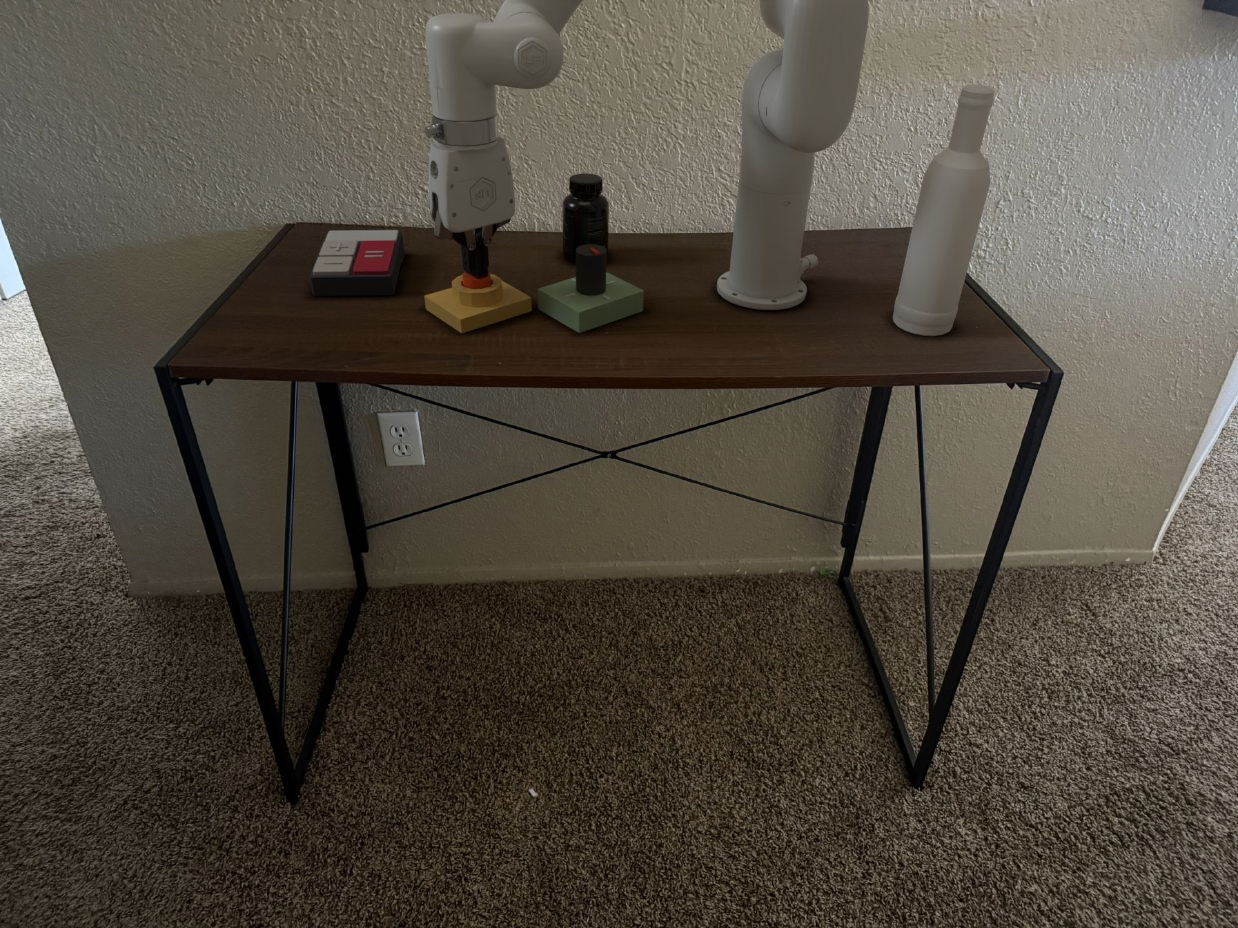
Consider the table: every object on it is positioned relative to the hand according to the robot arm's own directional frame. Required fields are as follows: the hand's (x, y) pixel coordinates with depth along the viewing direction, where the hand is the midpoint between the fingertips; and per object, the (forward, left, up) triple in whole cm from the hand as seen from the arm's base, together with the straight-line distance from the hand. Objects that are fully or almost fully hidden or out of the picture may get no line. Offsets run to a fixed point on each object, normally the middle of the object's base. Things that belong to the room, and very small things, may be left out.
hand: (476, 274), depth 118 cm
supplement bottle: (-23, -6, -5) cm, 24 cm away
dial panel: (-12, +9, -5) cm, 16 cm away
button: (0, 0, -2) cm, 2 cm away
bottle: (-45, +39, -5) cm, 60 cm away
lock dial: (-12, +9, -2) cm, 15 cm away
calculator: (+7, -20, -5) cm, 22 cm away
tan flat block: (0, 0, -5) cm, 5 cm away
